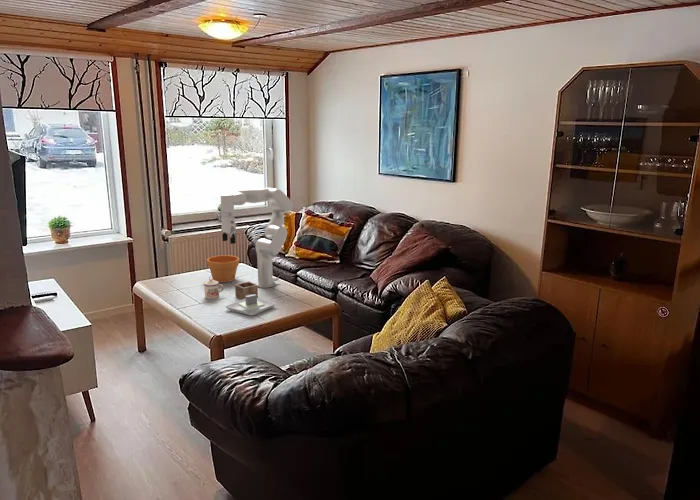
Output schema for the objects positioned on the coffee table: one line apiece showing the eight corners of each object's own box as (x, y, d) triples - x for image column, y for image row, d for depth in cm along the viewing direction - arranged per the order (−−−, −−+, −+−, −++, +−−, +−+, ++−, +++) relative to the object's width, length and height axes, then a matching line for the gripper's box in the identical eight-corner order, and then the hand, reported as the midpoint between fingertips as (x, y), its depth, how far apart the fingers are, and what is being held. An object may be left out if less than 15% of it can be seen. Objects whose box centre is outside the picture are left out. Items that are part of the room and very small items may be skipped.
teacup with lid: (206, 300, 330) (205, 281, 327) (203, 295, 338) (202, 277, 335) (225, 297, 335) (225, 279, 333) (222, 293, 343) (221, 275, 341)
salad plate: (252, 319, 302) (251, 313, 301) (224, 311, 313) (224, 305, 312) (276, 308, 319) (276, 302, 318) (250, 301, 330) (249, 296, 329)
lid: (254, 301, 320) (254, 291, 319) (264, 306, 312) (264, 295, 311) (238, 305, 313) (237, 295, 312) (248, 310, 305) (247, 299, 304)
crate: (249, 293, 343) (249, 281, 341) (257, 297, 336) (257, 285, 334) (235, 296, 337) (235, 284, 335) (243, 300, 329) (243, 288, 328)
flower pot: (229, 273, 386) (228, 253, 383) (245, 280, 371) (244, 259, 368) (202, 279, 373) (201, 258, 369) (218, 286, 358) (216, 264, 354)
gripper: (240, 215, 323) (241, 243, 327) (226, 211, 335) (227, 238, 339) (229, 217, 318) (230, 245, 322) (215, 213, 330) (216, 240, 335)
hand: (229, 242), depth 331 cm, fingers open, 9 cm apart
